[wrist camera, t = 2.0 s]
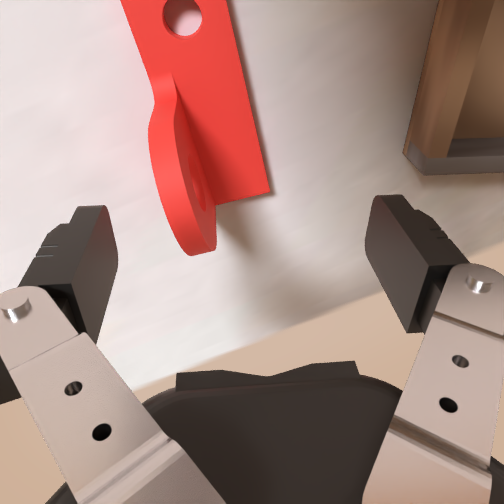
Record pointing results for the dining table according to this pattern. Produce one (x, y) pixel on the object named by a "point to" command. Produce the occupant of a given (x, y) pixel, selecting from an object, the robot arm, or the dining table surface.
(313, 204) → the dining table surface
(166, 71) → the bracket
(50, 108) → the dining table surface
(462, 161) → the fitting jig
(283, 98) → the dining table surface
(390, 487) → the robot arm
